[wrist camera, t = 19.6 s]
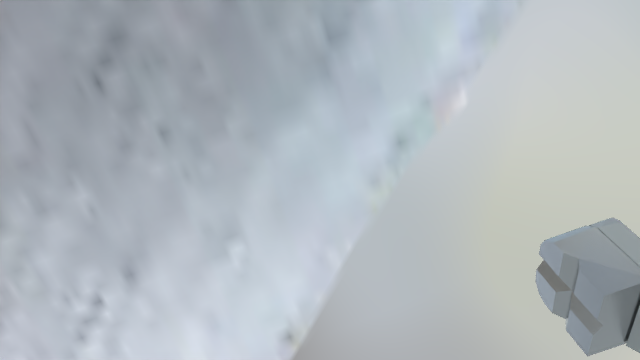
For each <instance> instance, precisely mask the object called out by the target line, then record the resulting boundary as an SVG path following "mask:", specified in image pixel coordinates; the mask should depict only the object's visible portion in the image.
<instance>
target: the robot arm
mask: <svg viewBox="0 0 640 360" xmlns="http://www.w3.org/2000/svg"><path fill="white" fill-rule="evenodd" d="M539 255H540V256H541V257H542V258H543V259H544V261H543V262H542V263H541V265H540V266H539V267H538V268H537V271H536V284H537V288H538V291H539V294H540V296H541V298H542V300H543V302H544V303H545V305H546V306H547V307H548V308H549V310H550V311H551V312H552V313H554V314H556V315H558V316H560V317H563V318H565V319H566V331H567V332H568V333H569V334H570V336H571V337H572V338H573V339H574V340H575V341H576V343H577V344H578V345H579V347H580V348H581V349H582V350H583V351H584V353H585V354H586V355H587V356H590V355H593V354H596V353H599V352H602V351H605V350H608V349H611V348H613V347H617V346H619V345H622V344H625V343H627V344H626V346H628V347H630V348H631V349H633V350H635V351H637V352H639V353H640V238H639V237H638V236H637V235H636V234H635V233H633V232H632V231H631V230H630V229H629V228H628V227H627V226H625V225H624V224H623V223H622V222H621V221H619V220H617V219H615V218H609V219H606V220H603V221H600V222H597V223H595V224H592V225H589V226H584V227H581V228H578V229H575V230H573V231H569V232H567V233H564V234H561V235H558V236H555V237H553V238H550V239H547V240H544V242H543V243H542V244H541V246H540V251H539Z"/></svg>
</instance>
